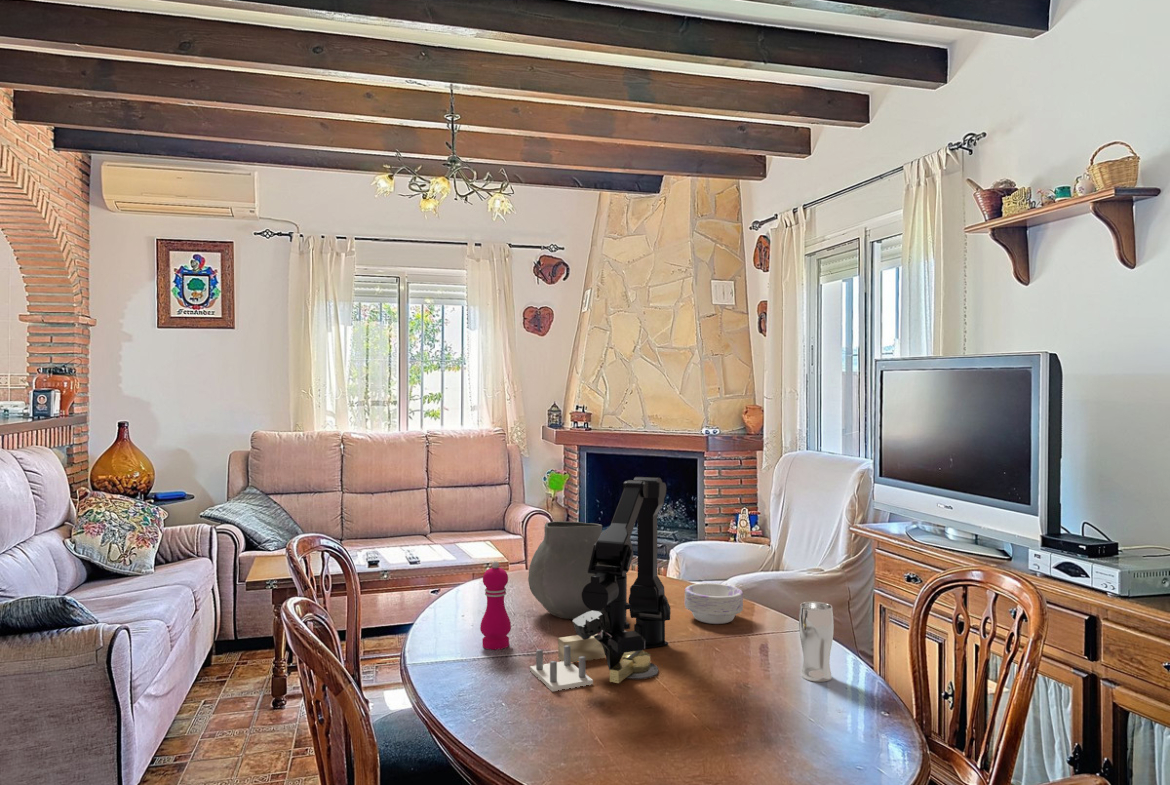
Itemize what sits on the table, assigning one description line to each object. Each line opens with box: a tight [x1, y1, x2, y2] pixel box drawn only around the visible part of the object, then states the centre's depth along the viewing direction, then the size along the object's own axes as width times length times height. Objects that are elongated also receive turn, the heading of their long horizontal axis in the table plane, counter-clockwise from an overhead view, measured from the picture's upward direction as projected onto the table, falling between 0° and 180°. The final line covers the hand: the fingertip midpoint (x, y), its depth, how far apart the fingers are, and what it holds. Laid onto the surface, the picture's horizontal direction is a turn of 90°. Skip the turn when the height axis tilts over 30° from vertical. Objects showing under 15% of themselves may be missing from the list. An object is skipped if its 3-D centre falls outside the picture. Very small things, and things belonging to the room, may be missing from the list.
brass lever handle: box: [609, 650, 651, 684], centre depth 167 cm, size 14×7×3 cm, turn 152°
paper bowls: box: [684, 582, 744, 625], centre depth 209 cm, size 15×15×8 cm
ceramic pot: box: [527, 520, 611, 620], centre depth 214 cm, size 24×24×25 cm
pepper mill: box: [479, 560, 512, 651], centre depth 188 cm, size 7×7×20 cm
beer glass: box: [798, 601, 835, 683], centre depth 166 cm, size 7×7×15 cm
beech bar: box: [557, 634, 606, 663], centre depth 179 cm, size 10×4×5 cm, turn 115°
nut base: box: [626, 662, 659, 680], centre depth 170 cm, size 10×10×1 cm
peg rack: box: [529, 645, 594, 692], centre depth 167 cm, size 13×9×5 cm
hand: (612, 671), depth 167 cm, fingers closed
